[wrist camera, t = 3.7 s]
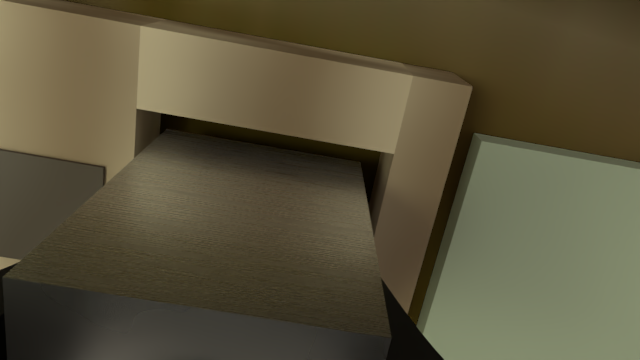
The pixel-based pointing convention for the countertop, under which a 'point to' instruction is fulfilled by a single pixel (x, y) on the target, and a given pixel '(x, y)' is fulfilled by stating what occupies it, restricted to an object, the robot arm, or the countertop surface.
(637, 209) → the rubber pad
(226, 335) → the knob-topped grey cube
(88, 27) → the birch frame
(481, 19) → the countertop surface
